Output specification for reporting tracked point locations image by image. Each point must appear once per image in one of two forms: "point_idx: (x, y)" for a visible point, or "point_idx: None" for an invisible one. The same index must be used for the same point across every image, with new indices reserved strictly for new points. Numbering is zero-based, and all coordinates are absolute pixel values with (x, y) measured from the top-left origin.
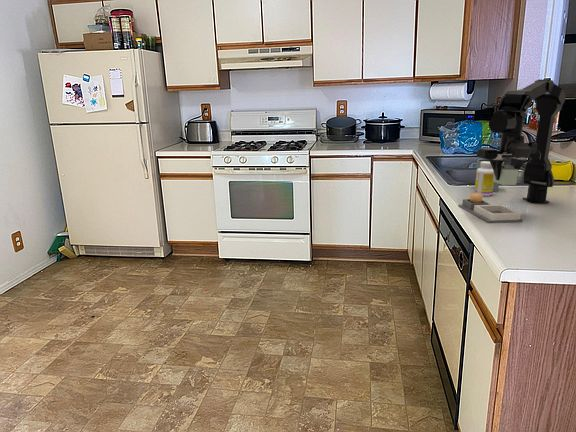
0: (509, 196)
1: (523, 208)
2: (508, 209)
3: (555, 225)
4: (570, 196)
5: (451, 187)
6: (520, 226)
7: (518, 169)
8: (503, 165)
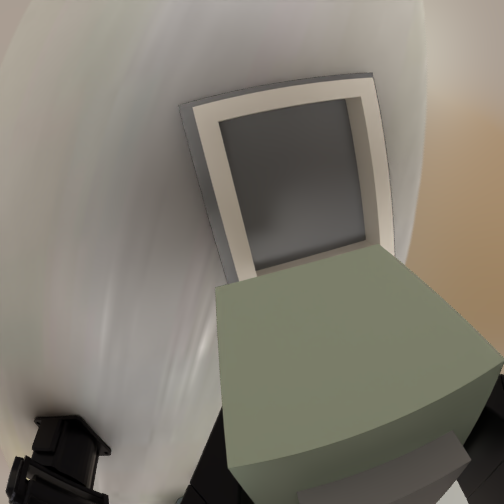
0: (150, 469)
1: (115, 357)
2: (237, 199)
3: (40, 85)
4: (4, 453)
5: None
6: (221, 23)
7: (193, 500)
8: (428, 501)
